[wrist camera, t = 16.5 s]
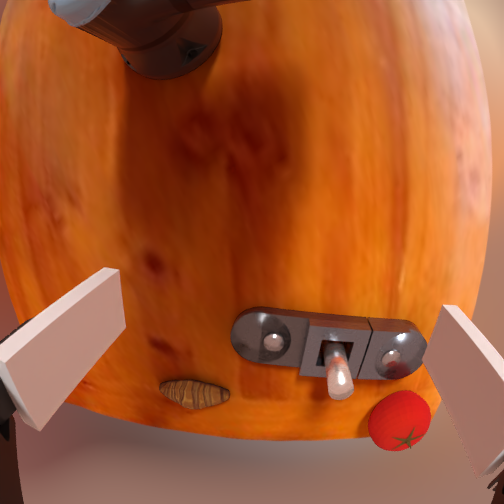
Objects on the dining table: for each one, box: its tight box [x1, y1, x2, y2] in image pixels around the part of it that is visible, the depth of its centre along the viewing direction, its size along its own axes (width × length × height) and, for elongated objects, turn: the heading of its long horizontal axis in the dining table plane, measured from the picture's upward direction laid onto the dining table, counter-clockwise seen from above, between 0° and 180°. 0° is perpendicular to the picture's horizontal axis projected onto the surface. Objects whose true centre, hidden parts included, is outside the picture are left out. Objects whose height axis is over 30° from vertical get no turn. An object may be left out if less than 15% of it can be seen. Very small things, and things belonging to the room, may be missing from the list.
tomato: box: [368, 390, 431, 451], centre depth 42 cm, size 12×12×10 cm
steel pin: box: [322, 340, 354, 400], centre depth 39 cm, size 3×3×12 cm
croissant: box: [159, 380, 230, 409], centre depth 49 cm, size 14×7×5 cm, turn 93°
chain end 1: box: [231, 307, 369, 367], centre depth 44 cm, size 20×9×3 cm, turn 85°
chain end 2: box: [299, 317, 427, 380], centre depth 42 cm, size 20×9×5 cm, turn 85°
